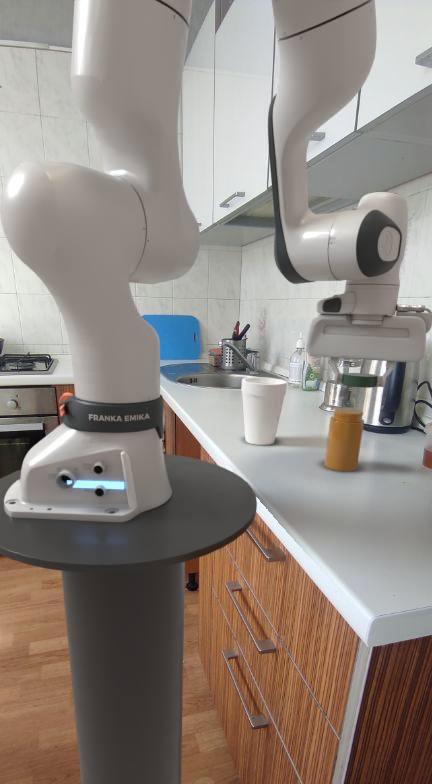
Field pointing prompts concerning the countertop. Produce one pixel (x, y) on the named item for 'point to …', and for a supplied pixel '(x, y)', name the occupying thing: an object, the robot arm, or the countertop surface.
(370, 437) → the countertop surface
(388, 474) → the countertop surface
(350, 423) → the jar
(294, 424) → the countertop surface
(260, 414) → the foam cup
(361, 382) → the lid
